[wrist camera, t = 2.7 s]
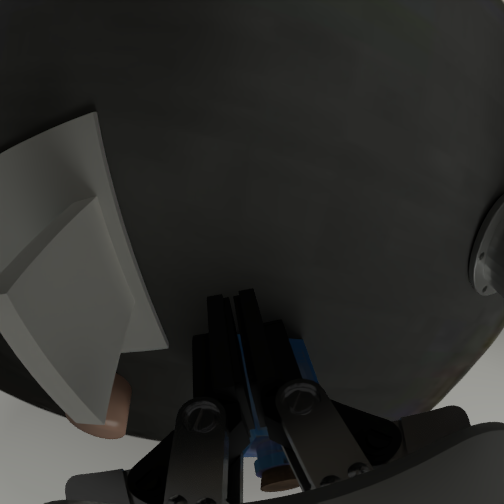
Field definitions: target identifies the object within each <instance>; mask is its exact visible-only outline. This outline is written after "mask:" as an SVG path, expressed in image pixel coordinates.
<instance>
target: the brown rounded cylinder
mask: <svg viewBox="0 0 504 504" xmlns="http://www.w3.org/2000/svg"><path fill="white" fill-rule="evenodd" d="M131 394H132V389H131V386H130V384H129V383H128V382H127V381H126V380H125V379H124V378H123V377H122V376H120V375H119V374H117V373H115V378H114V382H113V386H112V391H111V395H110V400H109V405H108V410H107V415H106V420H105V425H94V424H81V423H76V422H75V421H74V420H73V419H71V418H70V417H69V416H68V415H67V414H66V413H65V415H66V417H67V419H68V420H69V421H70V422H71V423H72V424H73V425H74V426H76V427H77V428H78V429H80V430H82V431H84V432H86V433H88V434H91V435H93V436H96V437H100V438H105V439H118V438H121V437H123V436H124V435H125V433H126V426H127V419H128V412H129V406H130V400H131Z"/></svg>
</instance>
